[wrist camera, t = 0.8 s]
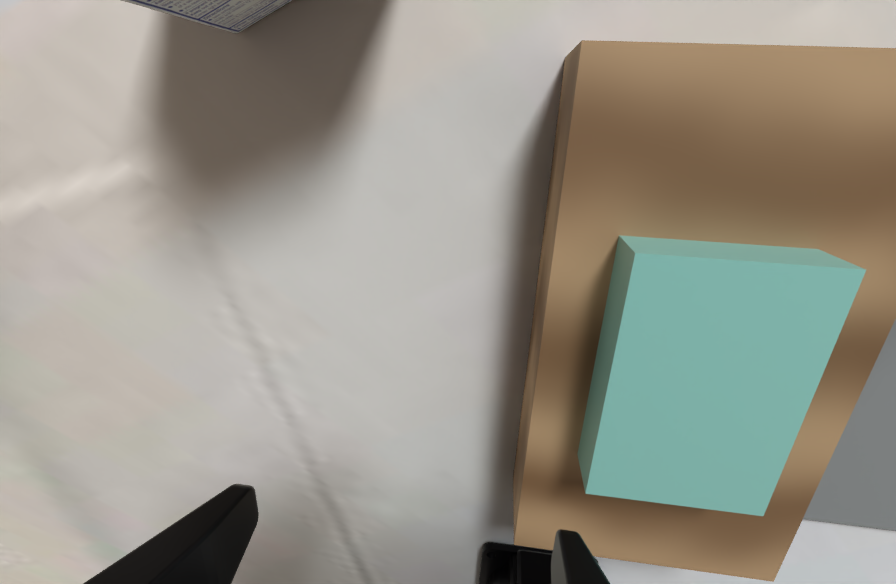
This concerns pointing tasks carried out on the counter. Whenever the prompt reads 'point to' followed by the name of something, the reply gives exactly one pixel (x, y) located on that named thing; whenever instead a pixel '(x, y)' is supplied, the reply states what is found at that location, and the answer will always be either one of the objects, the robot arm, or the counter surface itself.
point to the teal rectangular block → (708, 368)
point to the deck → (713, 220)
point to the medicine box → (216, 11)
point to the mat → (864, 455)
